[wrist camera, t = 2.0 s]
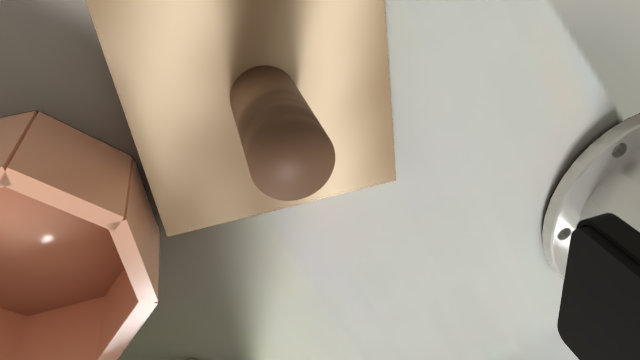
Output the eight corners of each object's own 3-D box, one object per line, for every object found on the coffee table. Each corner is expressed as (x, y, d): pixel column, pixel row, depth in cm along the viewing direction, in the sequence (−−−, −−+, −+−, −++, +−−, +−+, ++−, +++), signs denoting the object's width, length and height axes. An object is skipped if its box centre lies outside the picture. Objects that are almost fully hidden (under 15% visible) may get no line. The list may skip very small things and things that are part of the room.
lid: (371, -70, 21) (452, -52, 15) (388, 170, 26) (452, 253, 20) (83, -20, 19) (45, 22, 13) (167, 225, 25) (167, 332, 19)
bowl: (111, 95, 22) (97, 146, 18) (176, 278, 27) (177, 352, 23) (-155, 149, 20) (-241, 219, 16) (-33, 333, 25) (-73, 423, 21)
